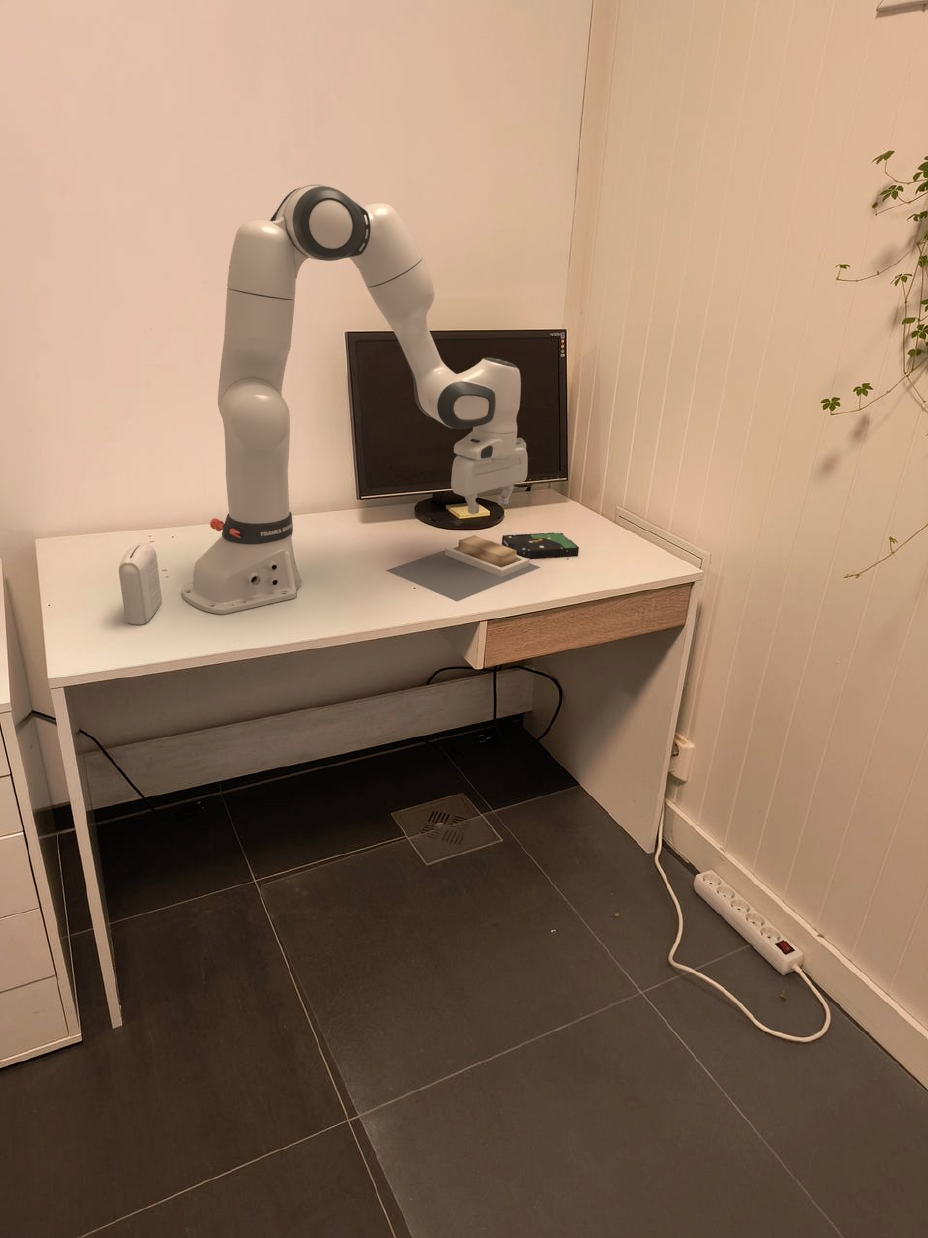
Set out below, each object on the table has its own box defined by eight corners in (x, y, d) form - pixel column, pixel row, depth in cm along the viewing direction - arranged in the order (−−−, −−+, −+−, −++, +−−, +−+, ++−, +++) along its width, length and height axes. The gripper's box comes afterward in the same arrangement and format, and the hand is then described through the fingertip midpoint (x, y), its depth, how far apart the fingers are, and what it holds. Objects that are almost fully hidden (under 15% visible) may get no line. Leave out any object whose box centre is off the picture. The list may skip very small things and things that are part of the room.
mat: (457, 603, 153) (457, 593, 152) (385, 572, 165) (385, 563, 164) (540, 568, 171) (541, 560, 170) (470, 543, 183) (471, 535, 182)
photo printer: (141, 600, 147) (132, 536, 142) (165, 601, 148) (157, 537, 142) (122, 625, 138) (112, 558, 133) (148, 626, 138) (139, 559, 133)
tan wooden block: (458, 555, 174) (458, 540, 173) (473, 550, 178) (474, 535, 176) (500, 571, 167) (501, 556, 166) (515, 565, 170) (516, 550, 169)
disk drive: (516, 563, 175) (578, 558, 179) (517, 551, 174) (580, 546, 178) (500, 546, 184) (560, 541, 188) (501, 534, 182) (561, 530, 186)
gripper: (514, 433, 170) (508, 496, 176) (448, 445, 156) (443, 513, 162) (538, 439, 166) (531, 503, 172) (472, 452, 152) (467, 522, 158)
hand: (488, 508), depth 167 cm, fingers open, 8 cm apart
